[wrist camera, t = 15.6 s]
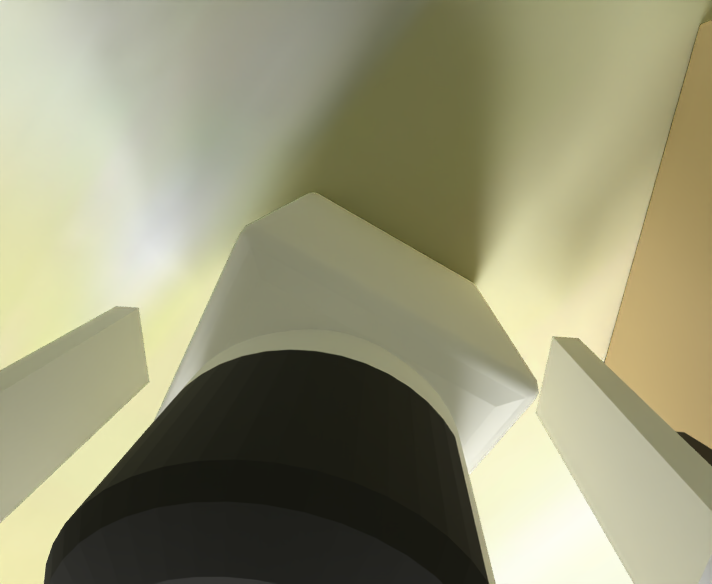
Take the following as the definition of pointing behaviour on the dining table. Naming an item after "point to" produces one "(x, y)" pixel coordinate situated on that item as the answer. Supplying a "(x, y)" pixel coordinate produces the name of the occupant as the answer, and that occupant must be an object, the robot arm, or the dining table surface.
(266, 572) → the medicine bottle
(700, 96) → the box
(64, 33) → the dining table surface
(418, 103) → the dining table surface
